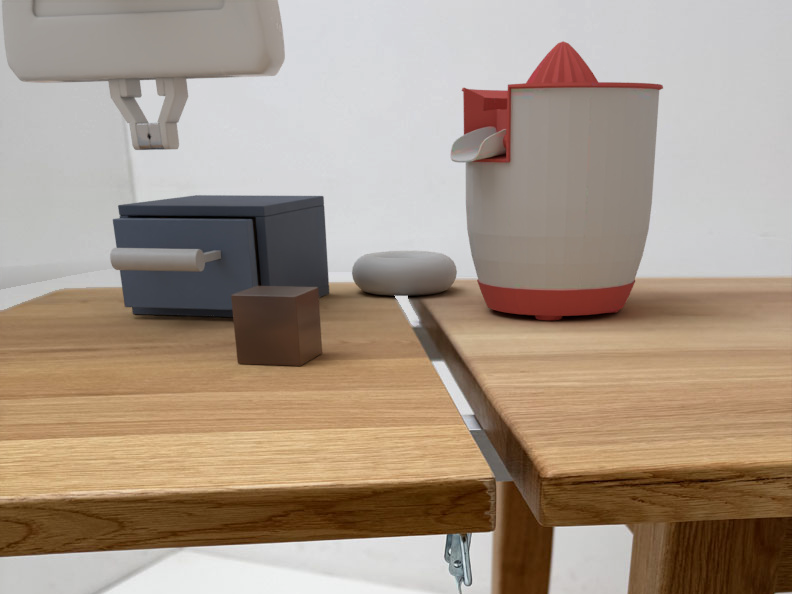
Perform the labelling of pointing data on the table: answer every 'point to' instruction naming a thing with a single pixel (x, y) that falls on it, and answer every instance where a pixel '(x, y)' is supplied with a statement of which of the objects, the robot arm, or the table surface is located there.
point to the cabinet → (258, 237)
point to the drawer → (185, 260)
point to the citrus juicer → (558, 188)
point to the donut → (404, 273)
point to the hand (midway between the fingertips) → (156, 149)
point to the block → (277, 325)
